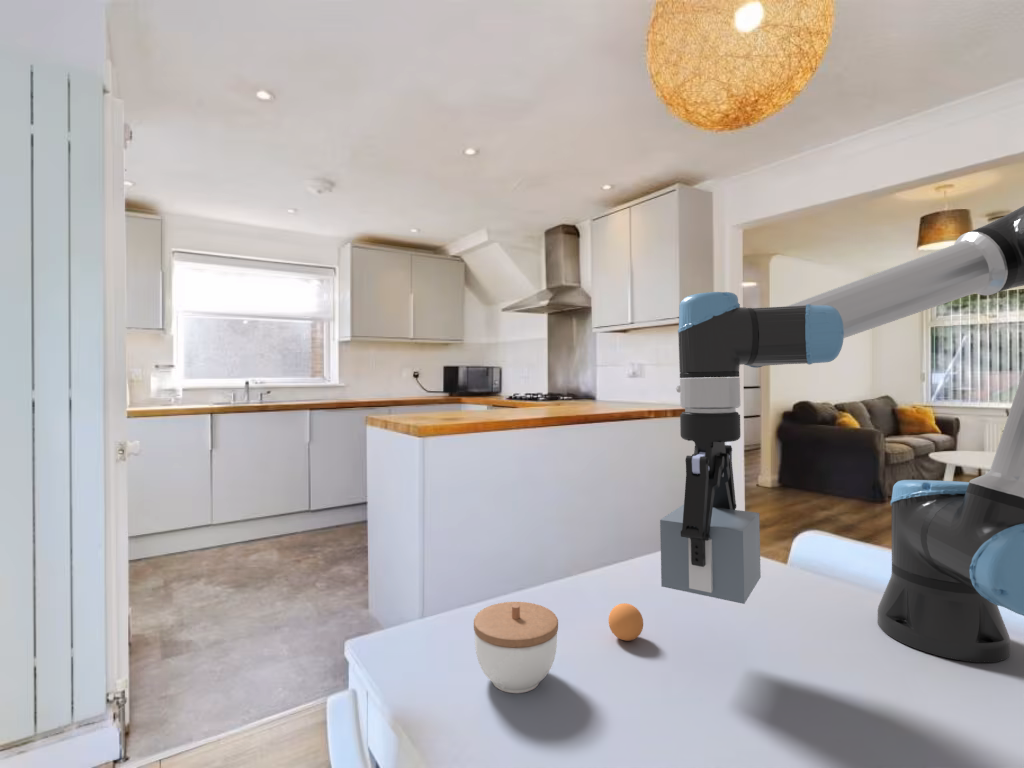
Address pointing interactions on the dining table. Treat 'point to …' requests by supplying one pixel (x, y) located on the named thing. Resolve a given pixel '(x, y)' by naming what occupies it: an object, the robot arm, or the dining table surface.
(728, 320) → the robot arm
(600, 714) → the dining table surface
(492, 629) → the lidded jar
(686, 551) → the matte gray-blue box
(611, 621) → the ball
